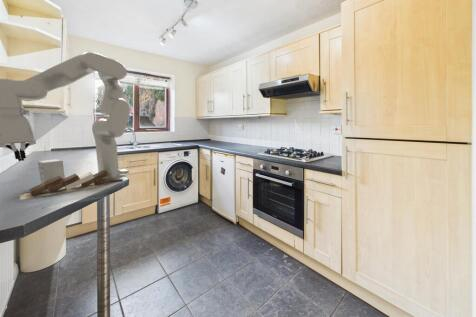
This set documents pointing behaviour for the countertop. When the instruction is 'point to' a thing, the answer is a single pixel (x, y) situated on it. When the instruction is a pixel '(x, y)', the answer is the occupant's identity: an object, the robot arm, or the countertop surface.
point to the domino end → (46, 185)
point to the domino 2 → (80, 180)
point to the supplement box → (50, 169)
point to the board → (47, 192)
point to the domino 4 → (107, 181)
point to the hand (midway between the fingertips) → (21, 160)
